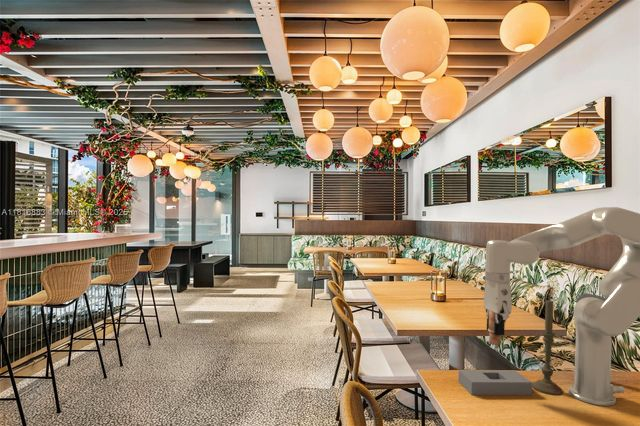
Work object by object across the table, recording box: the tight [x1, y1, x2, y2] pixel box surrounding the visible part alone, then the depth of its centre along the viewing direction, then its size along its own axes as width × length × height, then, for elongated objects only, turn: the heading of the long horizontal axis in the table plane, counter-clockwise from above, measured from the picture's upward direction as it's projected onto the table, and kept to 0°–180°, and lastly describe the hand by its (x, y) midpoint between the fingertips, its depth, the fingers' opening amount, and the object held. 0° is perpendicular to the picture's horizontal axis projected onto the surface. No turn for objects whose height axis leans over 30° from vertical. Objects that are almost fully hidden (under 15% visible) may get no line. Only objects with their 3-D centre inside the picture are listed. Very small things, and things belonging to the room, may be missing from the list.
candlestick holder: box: [532, 299, 563, 396], centre depth 134 cm, size 9×9×30 cm
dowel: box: [487, 310, 502, 346], centre depth 133 cm, size 4×4×12 cm
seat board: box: [457, 369, 533, 396], centre depth 133 cm, size 20×10×4 cm, turn 94°
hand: (495, 332), depth 133 cm, fingers closed on dowel, 4 cm apart
